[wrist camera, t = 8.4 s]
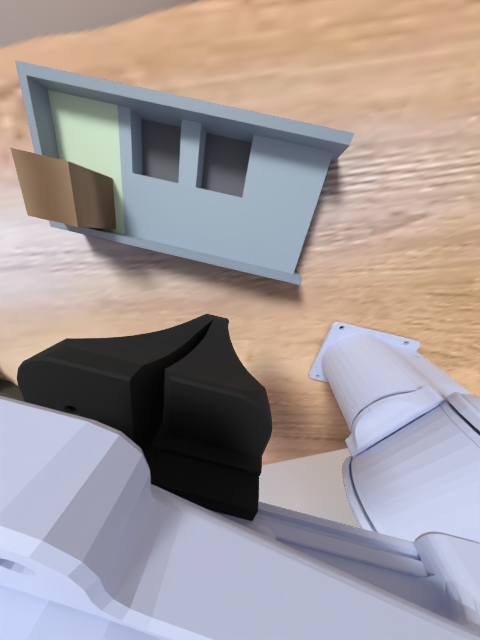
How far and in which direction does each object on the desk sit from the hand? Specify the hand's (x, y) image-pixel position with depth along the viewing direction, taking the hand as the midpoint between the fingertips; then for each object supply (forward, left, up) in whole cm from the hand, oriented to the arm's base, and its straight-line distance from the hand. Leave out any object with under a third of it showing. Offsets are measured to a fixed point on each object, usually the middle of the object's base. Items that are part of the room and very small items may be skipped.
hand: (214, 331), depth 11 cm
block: (+14, -5, -9) cm, 18 cm away
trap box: (+6, -8, -10) cm, 14 cm away
